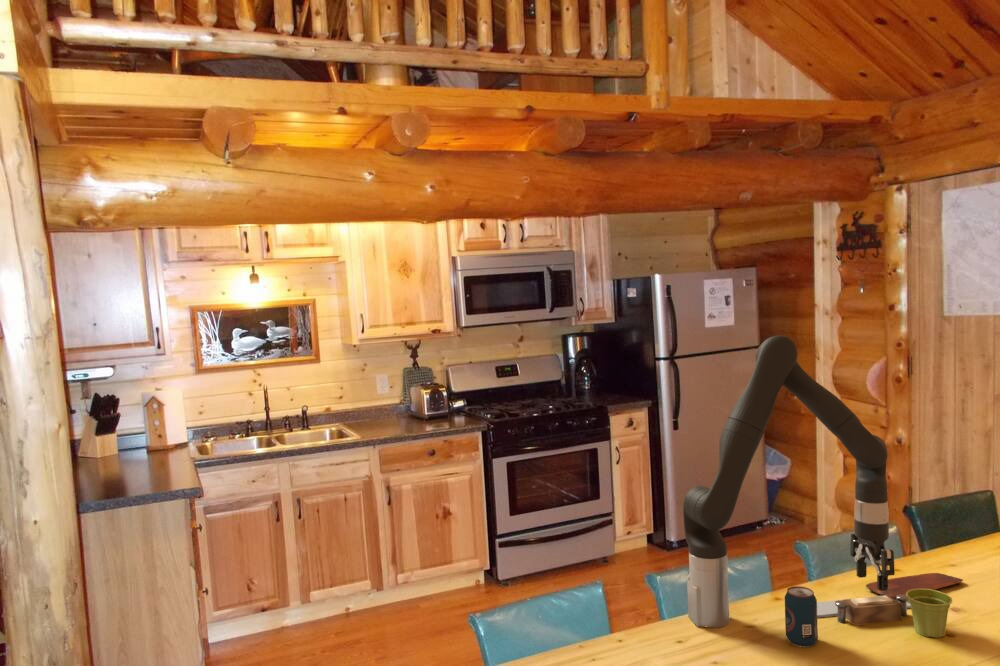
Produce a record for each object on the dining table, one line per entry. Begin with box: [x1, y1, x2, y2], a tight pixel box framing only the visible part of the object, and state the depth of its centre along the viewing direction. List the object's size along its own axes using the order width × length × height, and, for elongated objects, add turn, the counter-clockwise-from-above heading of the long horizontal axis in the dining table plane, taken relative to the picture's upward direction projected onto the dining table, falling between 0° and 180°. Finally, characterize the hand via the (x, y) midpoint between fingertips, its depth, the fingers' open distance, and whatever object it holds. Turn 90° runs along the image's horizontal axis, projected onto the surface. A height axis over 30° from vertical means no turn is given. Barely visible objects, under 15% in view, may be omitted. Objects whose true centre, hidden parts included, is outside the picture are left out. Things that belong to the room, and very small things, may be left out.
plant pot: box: [906, 589, 953, 639], centre depth 173 cm, size 9×9×9 cm
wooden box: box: [842, 595, 903, 626], centre depth 181 cm, size 12×5×5 cm, turn 95°
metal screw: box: [835, 599, 848, 624], centre depth 181 cm, size 3×3×5 cm
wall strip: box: [817, 596, 911, 619], centre depth 188 cm, size 26×7×1 cm, turn 97°
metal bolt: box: [896, 594, 909, 617], centre depth 182 cm, size 3×3×5 cm
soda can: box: [784, 585, 819, 648], centre depth 171 cm, size 7×7×12 cm
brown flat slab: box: [865, 572, 964, 598], centre depth 197 cm, size 27×10×2 cm, turn 110°
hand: (871, 583), depth 180 cm, fingers open, 8 cm apart
